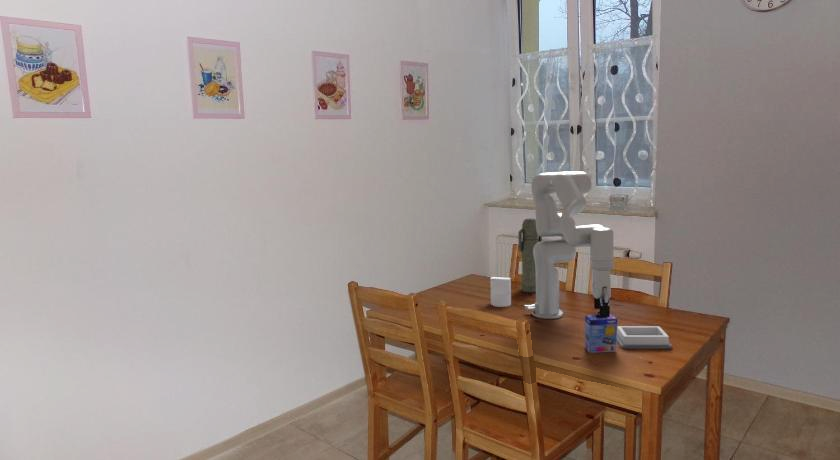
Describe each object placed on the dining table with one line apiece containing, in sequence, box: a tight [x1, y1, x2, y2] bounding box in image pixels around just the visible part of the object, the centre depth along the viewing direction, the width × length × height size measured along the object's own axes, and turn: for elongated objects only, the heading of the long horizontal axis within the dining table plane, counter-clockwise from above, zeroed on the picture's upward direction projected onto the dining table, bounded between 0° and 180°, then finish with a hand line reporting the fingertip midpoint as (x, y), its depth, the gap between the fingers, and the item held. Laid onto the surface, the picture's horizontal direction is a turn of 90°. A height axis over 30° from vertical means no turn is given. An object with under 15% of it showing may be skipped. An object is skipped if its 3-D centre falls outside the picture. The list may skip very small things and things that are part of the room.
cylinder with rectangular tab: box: [489, 276, 512, 308], centre depth 256 cm, size 9×9×12 cm
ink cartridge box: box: [584, 311, 618, 354], centre depth 197 cm, size 10×6×14 cm, turn 95°
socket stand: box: [616, 325, 673, 350], centre depth 204 cm, size 17×13×4 cm
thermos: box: [517, 218, 543, 293], centre depth 275 cm, size 9×12×35 cm
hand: (601, 312), depth 196 cm, fingers open, 9 cm apart
